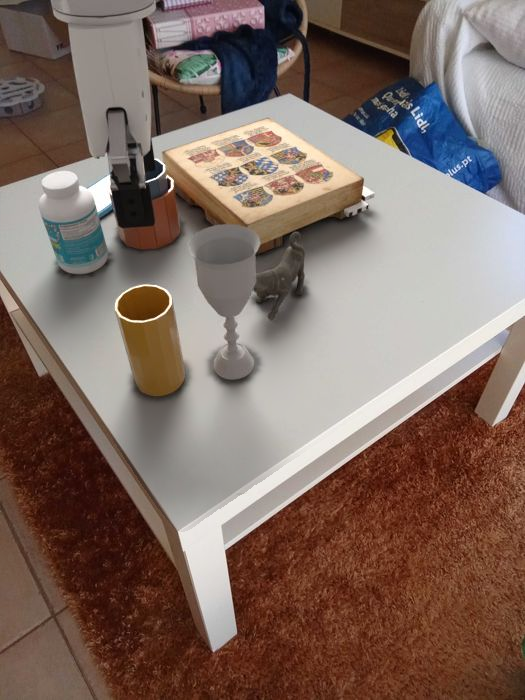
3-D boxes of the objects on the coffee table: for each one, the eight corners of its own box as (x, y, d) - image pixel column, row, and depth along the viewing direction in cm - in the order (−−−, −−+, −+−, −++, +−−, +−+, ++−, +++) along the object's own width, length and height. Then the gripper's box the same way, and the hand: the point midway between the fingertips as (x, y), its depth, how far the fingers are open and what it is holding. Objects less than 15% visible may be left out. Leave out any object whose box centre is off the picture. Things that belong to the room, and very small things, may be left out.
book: (380, 213, 92) (281, 146, 108) (386, 178, 88) (281, 113, 104) (255, 268, 83) (167, 185, 99) (254, 232, 78) (161, 151, 94)
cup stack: (118, 251, 86) (103, 189, 78) (122, 217, 92) (108, 156, 85) (180, 246, 86) (171, 184, 79) (179, 212, 93) (171, 152, 85)
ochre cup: (134, 399, 66) (112, 325, 57) (136, 360, 70) (116, 286, 61) (185, 394, 66) (172, 320, 58) (184, 356, 71) (172, 282, 62)
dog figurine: (279, 266, 83) (280, 222, 77) (315, 278, 81) (318, 234, 75) (237, 314, 76) (234, 270, 70) (274, 329, 74) (274, 285, 68)
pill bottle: (57, 251, 86) (29, 170, 76) (106, 242, 88) (85, 161, 78) (60, 281, 81) (31, 198, 71) (112, 271, 83) (90, 188, 73)
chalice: (210, 391, 67) (194, 270, 54) (199, 350, 71) (182, 231, 58) (269, 377, 68) (268, 257, 55) (255, 339, 72) (250, 219, 59)
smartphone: (55, 208, 93) (117, 167, 101) (57, 214, 94) (119, 173, 102) (87, 221, 90) (149, 178, 98) (89, 227, 91) (150, 184, 99)
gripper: (62, -39, 47) (104, 155, 59) (30, 28, 35) (91, 254, 47) (154, -42, 47) (176, 151, 60) (152, 23, 35) (181, 247, 48)
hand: (138, 196), depth 53 cm, fingers open, 9 cm apart
